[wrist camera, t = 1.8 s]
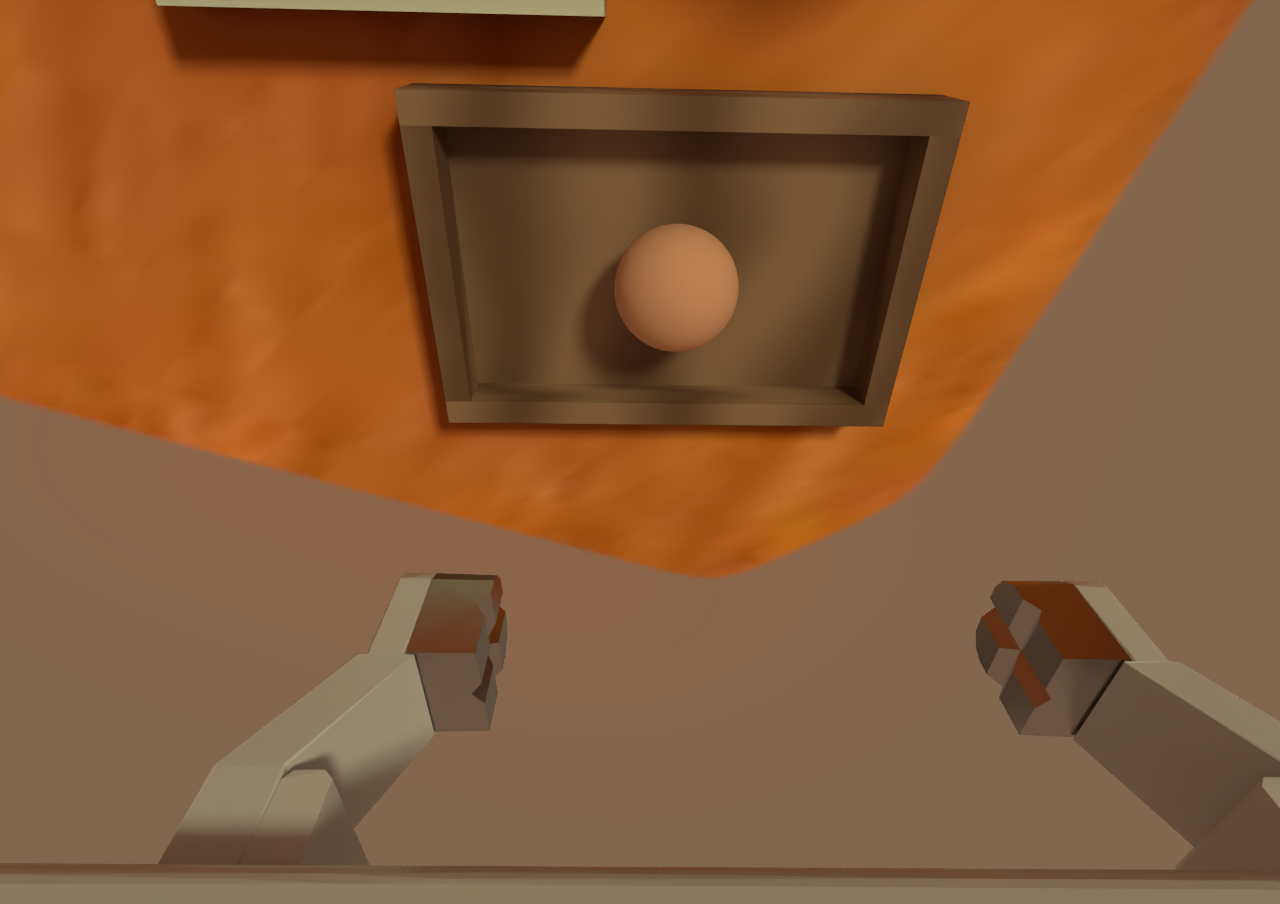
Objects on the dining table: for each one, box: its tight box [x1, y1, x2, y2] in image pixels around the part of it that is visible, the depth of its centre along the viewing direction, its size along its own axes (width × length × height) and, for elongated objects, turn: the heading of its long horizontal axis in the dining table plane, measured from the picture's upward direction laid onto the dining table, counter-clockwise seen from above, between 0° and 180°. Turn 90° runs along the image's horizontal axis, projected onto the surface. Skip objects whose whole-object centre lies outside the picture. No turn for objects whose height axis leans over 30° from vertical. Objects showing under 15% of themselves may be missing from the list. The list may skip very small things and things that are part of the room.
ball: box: [614, 224, 739, 352], centre depth 23 cm, size 4×4×4 cm
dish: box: [394, 83, 970, 427], centre depth 25 cm, size 18×12×2 cm, turn 89°
